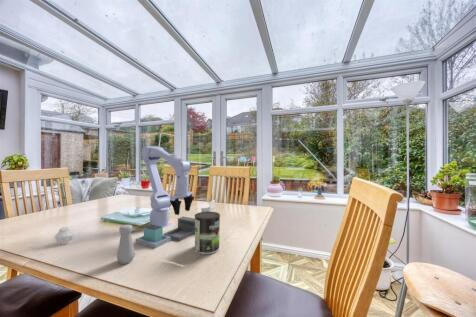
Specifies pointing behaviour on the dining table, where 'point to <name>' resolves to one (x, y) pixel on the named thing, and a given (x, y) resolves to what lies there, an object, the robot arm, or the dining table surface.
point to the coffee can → (207, 232)
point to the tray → (151, 244)
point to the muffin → (64, 236)
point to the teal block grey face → (153, 233)
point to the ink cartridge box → (209, 207)
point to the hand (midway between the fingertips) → (182, 212)
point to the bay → (182, 229)
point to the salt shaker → (125, 245)
